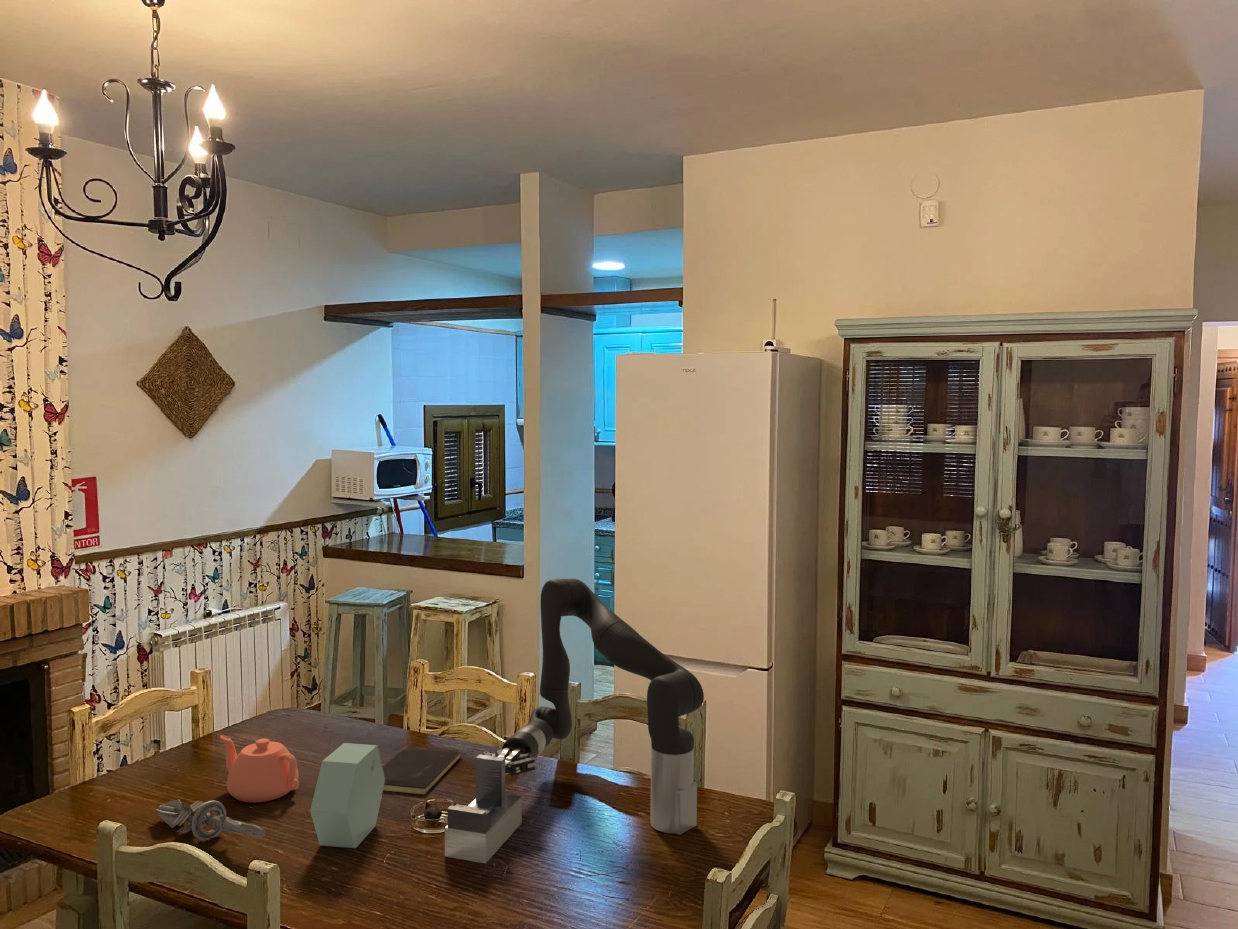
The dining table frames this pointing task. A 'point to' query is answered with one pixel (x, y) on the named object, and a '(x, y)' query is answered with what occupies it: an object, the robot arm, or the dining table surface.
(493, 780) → the dark grey tapered block
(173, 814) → the spaceship
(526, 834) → the dining table surface
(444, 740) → the dining table surface
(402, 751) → the hardcover book
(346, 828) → the mint hexagonal prism
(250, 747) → the teapot
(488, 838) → the white rectangular holder
